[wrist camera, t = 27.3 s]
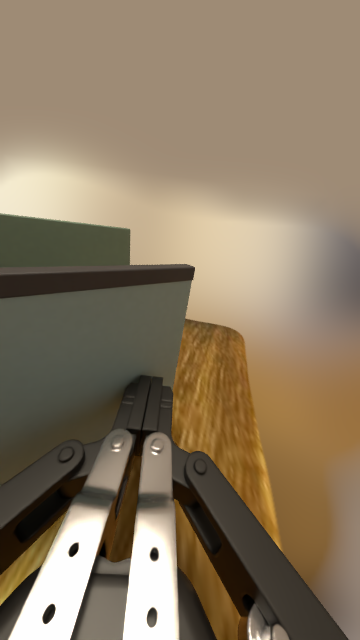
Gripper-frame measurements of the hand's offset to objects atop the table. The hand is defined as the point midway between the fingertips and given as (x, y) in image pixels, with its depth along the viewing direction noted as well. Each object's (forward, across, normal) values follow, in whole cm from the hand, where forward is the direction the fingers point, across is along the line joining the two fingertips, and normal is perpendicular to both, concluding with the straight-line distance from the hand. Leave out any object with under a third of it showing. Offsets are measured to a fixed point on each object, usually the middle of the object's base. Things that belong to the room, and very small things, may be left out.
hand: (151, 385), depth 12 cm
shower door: (-1, +3, +7) cm, 8 cm away
